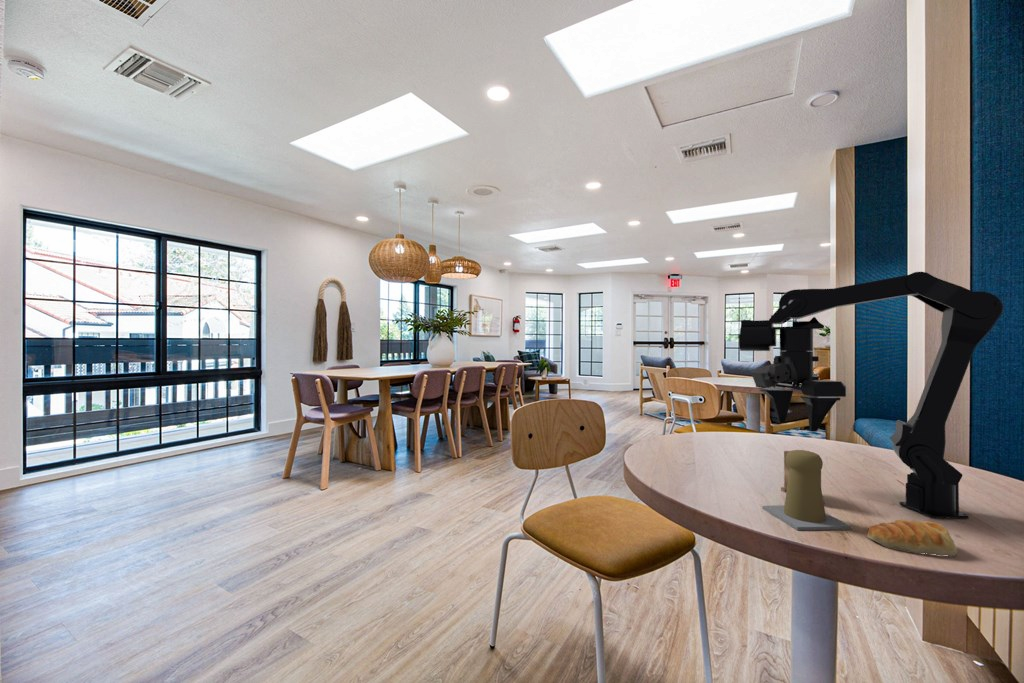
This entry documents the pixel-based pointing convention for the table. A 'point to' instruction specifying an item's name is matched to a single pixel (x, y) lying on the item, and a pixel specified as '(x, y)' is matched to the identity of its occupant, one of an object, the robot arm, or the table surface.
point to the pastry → (914, 537)
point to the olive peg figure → (804, 487)
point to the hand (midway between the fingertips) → (796, 426)
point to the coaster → (829, 524)
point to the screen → (786, 474)
